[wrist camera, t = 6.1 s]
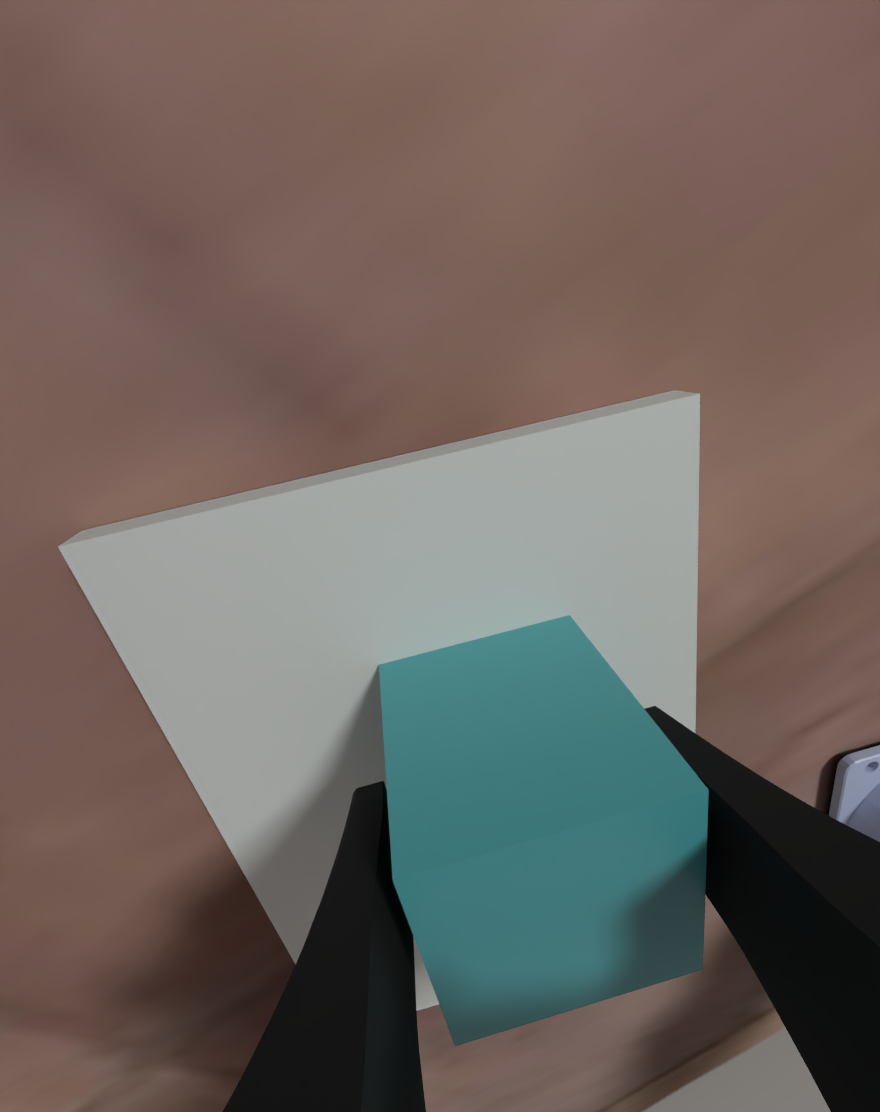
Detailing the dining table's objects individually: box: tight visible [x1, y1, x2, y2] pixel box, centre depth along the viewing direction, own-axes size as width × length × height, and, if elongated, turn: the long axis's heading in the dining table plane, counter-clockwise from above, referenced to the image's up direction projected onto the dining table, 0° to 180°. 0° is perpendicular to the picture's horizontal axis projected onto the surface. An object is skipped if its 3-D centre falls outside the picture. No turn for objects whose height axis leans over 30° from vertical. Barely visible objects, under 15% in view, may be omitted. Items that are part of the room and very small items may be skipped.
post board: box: [58, 390, 700, 1011], centre depth 13 cm, size 14×20×5 cm
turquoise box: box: [379, 615, 709, 1046], centre depth 11 cm, size 5×5×6 cm
